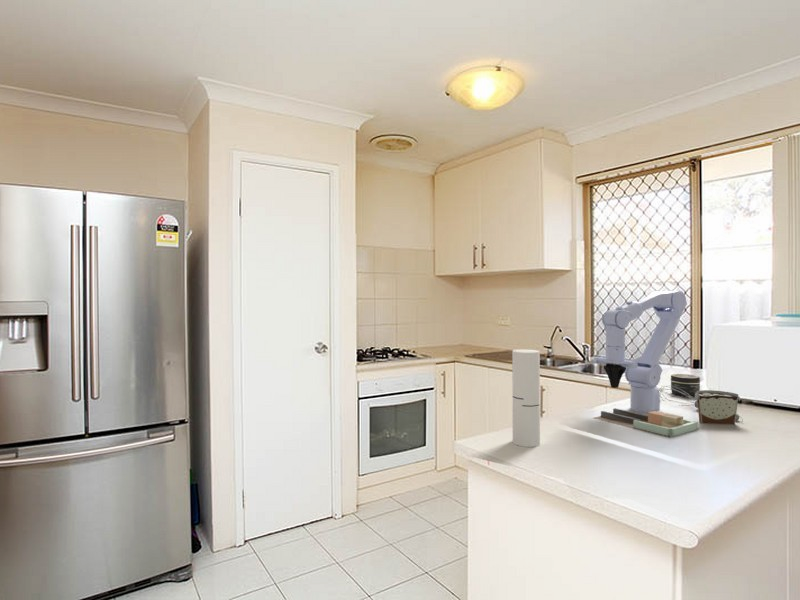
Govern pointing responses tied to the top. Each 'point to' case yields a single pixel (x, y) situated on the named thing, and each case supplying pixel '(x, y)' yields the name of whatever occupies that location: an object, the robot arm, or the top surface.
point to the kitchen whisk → (688, 400)
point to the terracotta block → (655, 417)
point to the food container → (717, 406)
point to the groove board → (625, 418)
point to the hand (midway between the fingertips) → (614, 387)
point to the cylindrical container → (526, 397)
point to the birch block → (671, 420)
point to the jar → (685, 384)
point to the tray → (666, 431)
